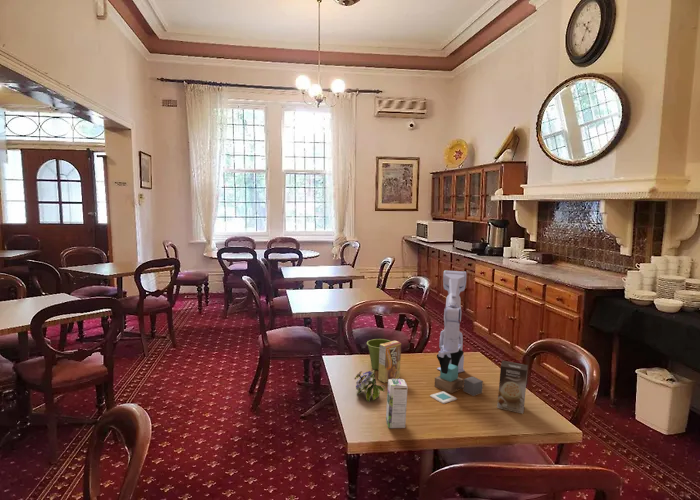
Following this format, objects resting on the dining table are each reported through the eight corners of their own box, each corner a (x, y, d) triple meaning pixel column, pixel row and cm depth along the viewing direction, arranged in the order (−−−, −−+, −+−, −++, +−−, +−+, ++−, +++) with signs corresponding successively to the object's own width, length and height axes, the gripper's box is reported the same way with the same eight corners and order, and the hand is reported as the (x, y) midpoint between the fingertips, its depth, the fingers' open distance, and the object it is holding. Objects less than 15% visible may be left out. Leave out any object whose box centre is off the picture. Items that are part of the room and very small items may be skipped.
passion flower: (358, 407, 167) (352, 376, 172) (386, 402, 168) (379, 371, 173) (358, 403, 157) (352, 370, 162) (388, 397, 158) (381, 364, 163)
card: (443, 392, 170) (443, 390, 170) (456, 399, 164) (456, 397, 164) (429, 396, 166) (430, 394, 166) (443, 403, 160) (443, 402, 160)
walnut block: (446, 382, 180) (446, 372, 180) (462, 388, 175) (463, 379, 174) (434, 387, 175) (434, 377, 175) (451, 394, 169) (451, 384, 169)
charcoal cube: (471, 388, 174) (472, 376, 174) (481, 393, 170) (482, 380, 170) (463, 391, 172) (464, 379, 171) (473, 396, 167) (474, 383, 167)
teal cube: (446, 374, 178) (447, 362, 177) (457, 378, 175) (458, 366, 174) (440, 377, 175) (440, 365, 174) (450, 381, 171) (451, 369, 170)
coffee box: (496, 408, 158) (499, 365, 156) (498, 401, 164) (501, 359, 162) (523, 414, 154) (527, 370, 152) (524, 406, 160) (528, 364, 158)
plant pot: (378, 360, 201) (379, 337, 200) (398, 368, 193) (399, 343, 191) (360, 366, 193) (361, 342, 192) (379, 375, 185) (380, 349, 184)
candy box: (393, 375, 185) (394, 340, 184) (400, 378, 182) (401, 342, 180) (377, 379, 180) (379, 343, 178) (384, 383, 177) (386, 346, 175)
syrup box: (385, 419, 147) (387, 378, 146) (402, 419, 148) (404, 378, 146) (388, 428, 142) (390, 385, 140) (406, 428, 142) (408, 385, 140)
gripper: (452, 331, 180) (450, 363, 182) (432, 338, 170) (430, 372, 172) (467, 335, 176) (465, 367, 177) (448, 343, 165) (446, 377, 167)
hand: (449, 370), depth 174 cm, fingers open, 7 cm apart
